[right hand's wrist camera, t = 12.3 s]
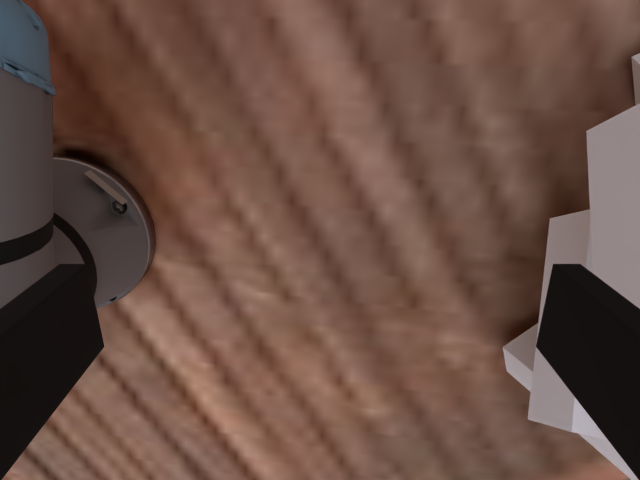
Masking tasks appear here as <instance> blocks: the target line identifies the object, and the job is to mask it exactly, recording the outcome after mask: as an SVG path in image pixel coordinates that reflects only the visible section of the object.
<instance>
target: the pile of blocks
mask: <svg viewBox="0 0 640 480" xmlns="http://www.w3.org/2000/svg"><path fill="white" fill-rule="evenodd" d="M631 58H632V70H633V82H634V94H635V106H634V107H632V108H630V109H628V110H626V111H624V112H622V113H620V114H618V115H616V116H614V117H612V118H610V119H608V120H607V121H605V122H603V123H601V124H599V125H597V126H595V127H593V128H591V129H589V130H587V131H586V134H587V156H588V178H589V200H590V209H589V210H585V211H580V212H576V213H571V214H567V215H563V216H558V217H554V218H550V222H549V231H548V240H547V249H546V258H545V267H544V276H543V285H542V295H541V304H540V313H539V322H538V323H537V324H536V325H534V326H533V327H531V328H530V329H528V330H527V331H525V332H524V333H522V334H521V335H520V336H518V337H517V338H515V339H514V340H512V341H511V342H509V343H508V344H506V345H505V346H503V352H504V358H505V364H506V369H507V372H508V373H509V374H511V375H512V376H513V377H514V378H515V379H516V380H518V381H519V382H520V383H521V384H522V385H523V386H524V387H526V388H527V389H528V390H529V391H530V392H531V394H530V403H529V413H528V420H532V421H535V422H539V423H542V424H546V425H549V426H553V427H556V428H560V429H563V430H567V431H570V432H574V433H578V434H580V435H581V436H582V437H583V438H584V439H585V440H586V441H588V442H589V443H590V444H591V445H592V446H593V447H595V448H596V449H597V450H598V451H599V452H600V453H601V454H603V455H604V456H605V457H606V458H607V459H608V460H609V461H611V462H612V463H613V464H614V465H615V466H616V467H617V468H619V469H620V470H621V471H622V472H623V473H624V474H626V475H627V476H628V477H629V478H630V479H631V480H638V478H637V477H636V476H635V474H634V473H633V472H632V471H631V469H630V468H629V467H628V465H627V464H626V463H625V461H624V460H623V459H622V458H621V456H620V455H619V454H618V452H617V451H616V450H615V449H614V447H613V446H612V445H611V443H610V442H609V441H608V439H607V438H606V437H605V436H604V434H603V433H602V432H601V430H600V429H599V428H598V426H597V425H596V424H595V423H594V421H593V420H592V419H591V417H590V416H589V415H588V414H587V412H586V411H585V410H584V408H583V407H582V406H581V404H580V403H579V402H578V401H577V399H576V398H575V397H574V395H573V394H572V393H571V392H570V390H569V389H568V388H567V386H566V385H565V384H564V382H563V381H562V380H561V379H560V377H559V376H558V375H557V373H556V372H555V371H554V369H553V368H552V367H551V366H550V364H549V363H548V362H547V360H546V359H545V358H544V357H543V355H542V354H541V353H540V351H539V350H538V349H537V347H536V343H537V338H538V334H539V329H540V324H541V319H542V314H543V310H544V305H545V300H546V295H547V290H548V286H549V281H550V276H551V271H552V266H553V264H581V265H582V266H584V267H585V268H586V269H588V270H589V271H590V272H592V273H593V274H594V275H596V276H597V277H598V278H600V279H601V280H602V281H604V282H605V283H606V284H608V285H609V286H610V287H612V288H613V289H614V290H616V291H617V292H618V293H619V294H621V295H622V296H623V297H625V298H626V299H627V300H629V301H630V302H631V303H633V304H634V305H635V306H637V307H638V308H639V309H640V53H639V54H637V55H634V56H632V57H631Z"/></svg>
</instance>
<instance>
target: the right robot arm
mask: <svg viewBox="0 0 640 480" xmlns="http://www.w3.org/2000/svg"><path fill="white" fill-rule="evenodd" d="M53 96H56V90H55V87H54V86H53V85H52V83H51V73H50V59H49V44H48V35H47V31H46V28H45V26H44V24H43V22H42V20H41V19H40V17H39V16H38V15H37V13H36V12H35V11H34V10H33V9H32V8H30V7H29V6H28V5H27V4H25V3H24V2H22V1H21V0H0V480H2V478H3V477H4V476H5V474H6V473H7V472H8V471H9V469H10V468H11V467H12V465H13V464H14V463H15V461H16V460H17V459H18V458H19V456H20V455H21V454H22V452H23V451H24V450H25V449H26V447H27V446H28V445H29V443H30V442H31V441H32V439H33V438H34V437H35V436H36V434H37V433H38V432H39V430H40V429H41V428H42V426H43V425H44V424H45V423H46V421H47V420H48V419H49V417H50V416H51V415H52V414H53V412H54V411H55V410H56V408H57V407H58V406H59V404H60V403H61V402H62V401H63V399H64V398H65V397H66V395H67V394H68V393H69V392H70V390H71V389H72V388H73V386H74V385H75V384H76V382H77V381H78V380H79V379H80V377H81V376H82V375H83V373H84V372H85V371H86V369H87V368H88V367H89V366H90V364H91V363H92V362H93V360H94V359H95V358H96V357H97V355H98V354H99V353H100V351H101V350H102V349H103V347H104V343H103V338H102V334H101V329H100V324H99V319H98V314H97V310H96V308H98V307H101V306H104V305H107V304H110V303H112V302H115V301H117V300H119V299H121V298H122V297H124V296H125V295H127V294H128V293H129V292H130V291H131V290H132V289H133V288H134V287H135V286H136V285H137V284H138V283H139V281H140V280H141V279H142V278H143V276H144V275H145V274H146V272H147V271H148V269H149V267H150V265H151V262H152V259H153V256H154V251H155V231H154V226H153V222H152V219H151V216H150V213H149V211H148V209H147V207H146V205H145V203H144V202H143V200H142V199H141V197H140V196H139V194H138V193H137V192H136V191H135V189H134V188H133V187H132V186H131V185H130V184H129V183H128V182H127V181H126V180H125V179H124V178H122V177H121V176H120V175H119V174H117V173H116V172H114V171H113V170H111V169H110V168H108V167H106V166H104V165H102V164H100V163H98V162H95V161H93V160H90V159H87V158H84V157H79V156H73V155H53ZM536 347H537V349H538V350H539V351H540V353H541V354H542V355H543V357H544V358H545V359H546V360H547V362H548V363H549V364H550V366H551V367H552V368H553V369H554V371H555V372H556V373H557V375H558V376H559V377H560V379H561V380H562V381H563V382H564V384H565V385H566V386H567V388H568V389H569V390H570V392H571V393H572V394H573V395H574V397H575V398H576V399H577V401H578V402H579V403H580V404H581V406H582V407H583V408H584V410H585V411H586V412H587V414H588V415H589V416H590V417H591V419H592V420H593V421H594V423H595V424H596V425H597V426H598V428H599V429H600V430H601V432H602V433H603V434H604V436H605V437H606V438H607V439H608V441H609V442H610V443H611V445H612V446H613V447H614V449H615V450H616V451H617V452H618V454H619V455H620V456H621V458H622V459H623V460H624V461H625V463H626V464H627V465H628V467H629V468H630V469H631V471H632V472H633V473H634V474H635V476H636V477H637V478H638V480H640V309H639V308H638V307H637V306H635V305H634V304H633V303H631V302H630V301H629V300H627V299H626V298H625V297H623V296H622V295H621V294H619V293H618V292H617V291H616V290H614V289H613V288H612V287H610V286H609V285H608V284H606V283H605V282H604V281H602V280H601V279H600V278H598V277H597V276H596V275H594V274H593V273H592V272H590V271H589V270H588V269H586V268H585V267H584V266H582V265H581V264H553V266H552V271H551V276H550V281H549V286H548V290H547V295H546V300H545V305H544V310H543V314H542V319H541V324H540V329H539V334H538V338H537V343H536Z"/></svg>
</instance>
